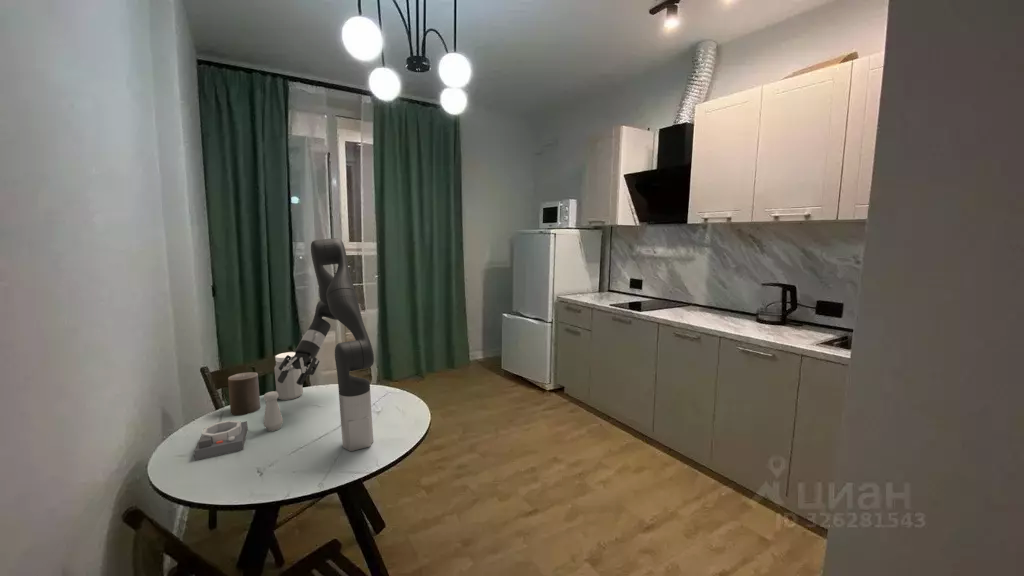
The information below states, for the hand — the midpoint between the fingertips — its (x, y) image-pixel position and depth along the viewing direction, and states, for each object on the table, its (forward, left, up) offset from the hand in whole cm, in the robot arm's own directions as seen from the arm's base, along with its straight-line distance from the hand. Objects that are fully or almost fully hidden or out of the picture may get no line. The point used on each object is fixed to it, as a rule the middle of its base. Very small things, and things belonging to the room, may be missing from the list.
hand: (289, 383), depth 147 cm
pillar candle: (+18, +16, -14) cm, 28 cm away
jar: (+25, +1, -14) cm, 29 cm away
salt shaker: (-6, +6, -14) cm, 16 cm away
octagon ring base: (-10, +20, -13) cm, 26 cm away
